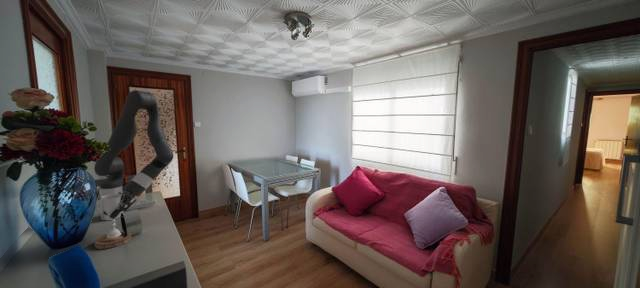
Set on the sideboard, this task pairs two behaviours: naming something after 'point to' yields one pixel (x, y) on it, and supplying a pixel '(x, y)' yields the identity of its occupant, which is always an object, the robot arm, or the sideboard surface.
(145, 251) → the sideboard surface
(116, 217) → the robot arm
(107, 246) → the tan segmented-rim dish
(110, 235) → the chalice
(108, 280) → the sideboard surface
